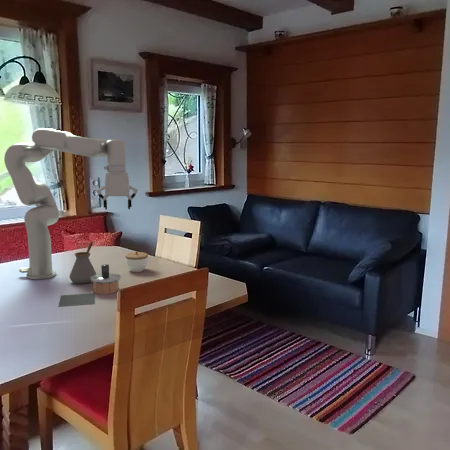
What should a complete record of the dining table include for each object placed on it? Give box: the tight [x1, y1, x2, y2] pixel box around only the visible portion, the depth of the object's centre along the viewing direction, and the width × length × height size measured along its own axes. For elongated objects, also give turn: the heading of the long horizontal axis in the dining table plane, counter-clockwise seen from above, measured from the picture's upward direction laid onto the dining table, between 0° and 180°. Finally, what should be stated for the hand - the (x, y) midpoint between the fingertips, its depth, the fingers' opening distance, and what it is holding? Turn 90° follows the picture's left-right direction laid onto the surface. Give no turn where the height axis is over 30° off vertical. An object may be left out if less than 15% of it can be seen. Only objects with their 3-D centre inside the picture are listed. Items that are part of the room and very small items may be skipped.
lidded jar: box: [124, 250, 149, 273], centre depth 218 cm, size 11×11×9 cm
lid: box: [90, 263, 121, 283], centre depth 186 cm, size 12×12×6 cm
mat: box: [58, 292, 96, 308], centre depth 175 cm, size 13×13×1 cm
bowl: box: [92, 280, 120, 295], centre depth 187 cm, size 10×10×5 cm
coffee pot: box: [69, 241, 97, 285], centre depth 202 cm, size 21×12×15 cm, turn 0°
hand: (117, 209), depth 195 cm, fingers open, 9 cm apart
